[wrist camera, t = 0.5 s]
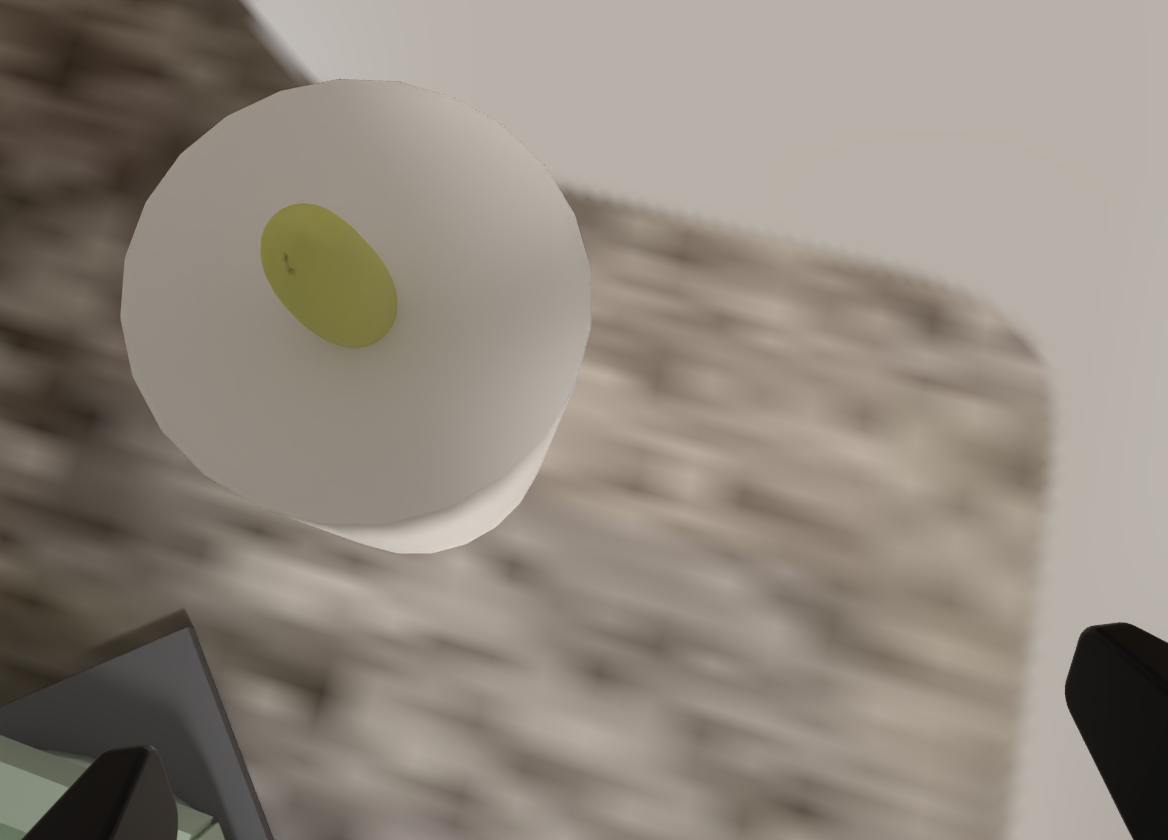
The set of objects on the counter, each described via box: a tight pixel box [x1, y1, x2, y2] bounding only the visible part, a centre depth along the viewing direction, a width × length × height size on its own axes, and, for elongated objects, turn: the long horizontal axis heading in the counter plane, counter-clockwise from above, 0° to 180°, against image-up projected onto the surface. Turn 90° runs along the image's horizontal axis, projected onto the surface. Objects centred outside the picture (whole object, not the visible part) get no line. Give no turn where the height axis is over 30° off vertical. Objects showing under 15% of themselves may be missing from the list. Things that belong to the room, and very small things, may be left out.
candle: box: [120, 79, 591, 553], centre depth 16 cm, size 6×6×15 cm
